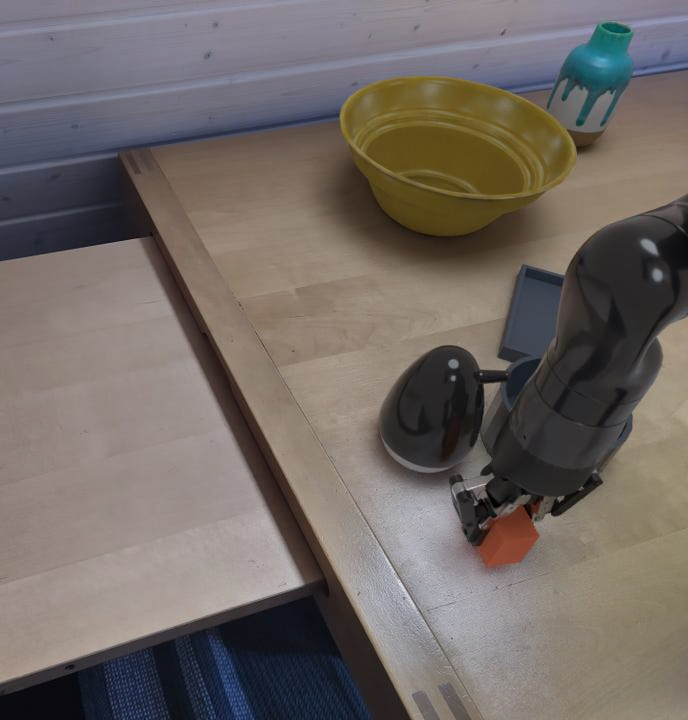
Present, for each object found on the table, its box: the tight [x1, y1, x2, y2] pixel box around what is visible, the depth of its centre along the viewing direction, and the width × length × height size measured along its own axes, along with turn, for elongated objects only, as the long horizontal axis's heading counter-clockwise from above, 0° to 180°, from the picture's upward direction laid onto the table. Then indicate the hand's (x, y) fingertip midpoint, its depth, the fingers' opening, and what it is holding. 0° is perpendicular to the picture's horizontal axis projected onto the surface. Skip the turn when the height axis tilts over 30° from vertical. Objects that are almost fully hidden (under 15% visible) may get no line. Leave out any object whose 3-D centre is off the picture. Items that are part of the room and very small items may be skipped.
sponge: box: [476, 505, 540, 568], centre depth 67 cm, size 4×6×5 cm, turn 9°
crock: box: [480, 355, 634, 475], centre depth 77 cm, size 13×13×7 cm
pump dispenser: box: [377, 344, 510, 474], centre depth 73 cm, size 10×10×15 cm
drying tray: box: [497, 263, 565, 363], centre depth 91 cm, size 17×13×2 cm
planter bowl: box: [338, 75, 578, 237], centre depth 103 cm, size 32×32×13 cm
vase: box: [544, 19, 635, 148], centre depth 116 cm, size 11×11×19 cm
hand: (491, 534), depth 69 cm, fingers closed on sponge, 3 cm apart
